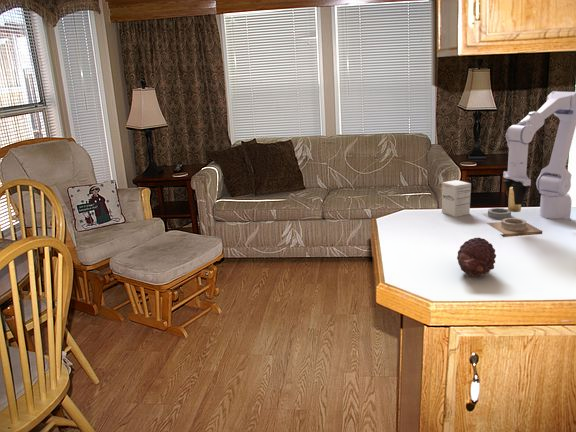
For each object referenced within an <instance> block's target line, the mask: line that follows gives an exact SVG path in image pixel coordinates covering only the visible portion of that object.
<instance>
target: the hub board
mask: <svg viewBox="0 0 576 432" xmlns="http://www.w3.org/2000/svg"><path fill="white" fill-rule="evenodd" d="M486 224H487V225H489V226H490V227H492V228H493V229H495V230H497V231H498V232H499V233H500V234H499V235H500V236H502V237H503V238H508V237H522V236H535V235H536V236H537V235H543V230H541V229H539V228H537V227H535V226H534V225H532V224H530V223H528V222H527V220H525V219H522V218H517V217H515V218H506V219H502V220H500V221H496V222H495V221H494V222H486Z"/></svg>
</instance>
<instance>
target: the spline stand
mask: <svg viewBox="0 0 576 432" xmlns="http://www.w3.org/2000/svg"><path fill="white" fill-rule="evenodd" d="M482 215H483V216H484V217H486V218H488V219H489V220H491V221H494V222H495V221H502V219H506V218H516V216H514V215H512V212H510V211H508V208H503V207H494V208H493V207H492V208H489V209H488V210H487V213H482Z"/></svg>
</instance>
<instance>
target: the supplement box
mask: <svg viewBox="0 0 576 432" xmlns="http://www.w3.org/2000/svg"><path fill="white" fill-rule="evenodd" d="M471 188H472V183H471V182H467V181H462V180H459V179H454V180H448V181H443V182H442V192H441V193H442V195H441V196H442V200H441V213H442V214H446V215H448V216H450V217H460V216H466V215H469V214H470V213H471V212H470V208H471V193H472V192H471V190H472V189H471Z"/></svg>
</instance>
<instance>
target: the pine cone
mask: <svg viewBox="0 0 576 432" xmlns="http://www.w3.org/2000/svg"><path fill="white" fill-rule="evenodd" d="M496 258H497V254H496V249H495V247H494V245H493V244H492V243H490V242H489V241H488V240H486V239H485V238H481V237H474V238H469V239H468V240H466V241H465V242H464V243H463V244H462V245H460V247H459V249H458V251H457V257H456V260H457V263H458V265H459V267H460V270H461V271H462V272H463V273H464V274H468V275H470V276H473V277H475V278H476V277H481V276H482V275H486V273H487V274H488V273H490V272H491V270H494V268H495V264H496Z"/></svg>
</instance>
